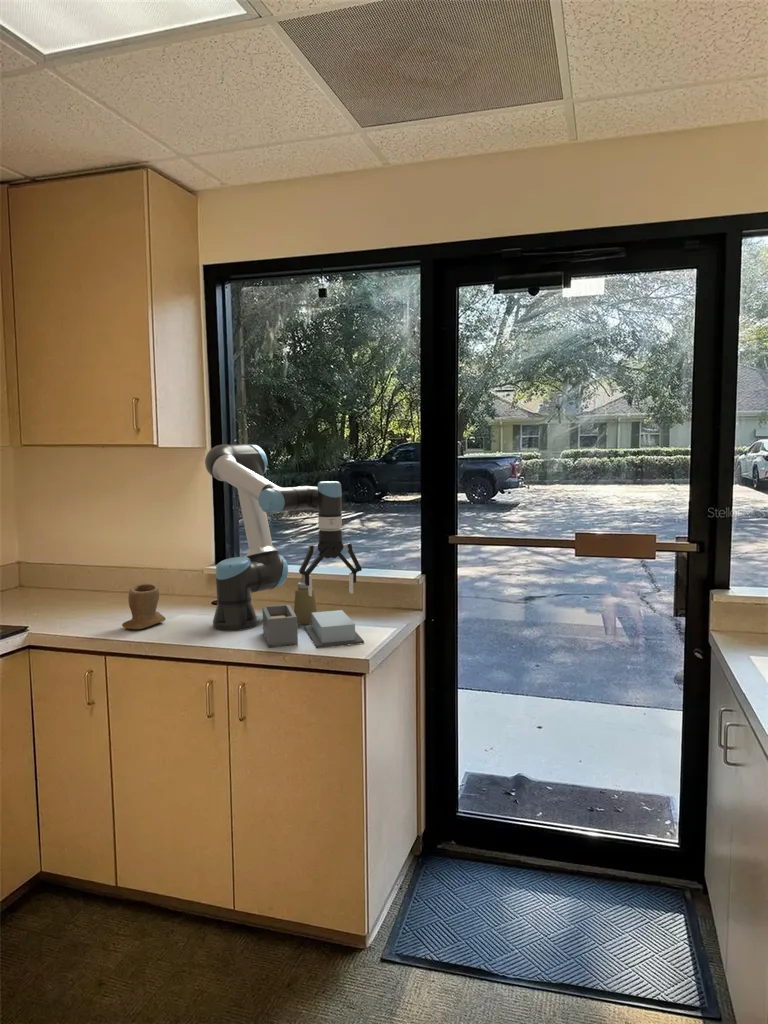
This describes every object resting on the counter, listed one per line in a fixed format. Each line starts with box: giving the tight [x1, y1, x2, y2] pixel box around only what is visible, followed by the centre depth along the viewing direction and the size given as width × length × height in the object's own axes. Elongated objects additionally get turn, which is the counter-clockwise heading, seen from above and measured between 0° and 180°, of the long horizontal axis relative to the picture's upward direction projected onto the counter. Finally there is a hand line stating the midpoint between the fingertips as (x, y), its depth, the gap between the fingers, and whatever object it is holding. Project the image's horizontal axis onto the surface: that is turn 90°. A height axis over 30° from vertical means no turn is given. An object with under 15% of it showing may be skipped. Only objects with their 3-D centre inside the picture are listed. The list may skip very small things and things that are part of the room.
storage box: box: [261, 604, 299, 649], centre depth 209 cm, size 18×9×9 cm, turn 16°
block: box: [311, 609, 356, 643], centre depth 212 cm, size 20×11×5 cm, turn 15°
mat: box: [303, 625, 365, 649], centre depth 212 cm, size 24×15×1 cm, turn 16°
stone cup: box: [121, 583, 166, 630], centre depth 228 cm, size 15×12×15 cm
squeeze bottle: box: [293, 574, 318, 626], centre depth 228 cm, size 8×8×18 cm
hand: (330, 594), depth 211 cm, fingers open, 13 cm apart
